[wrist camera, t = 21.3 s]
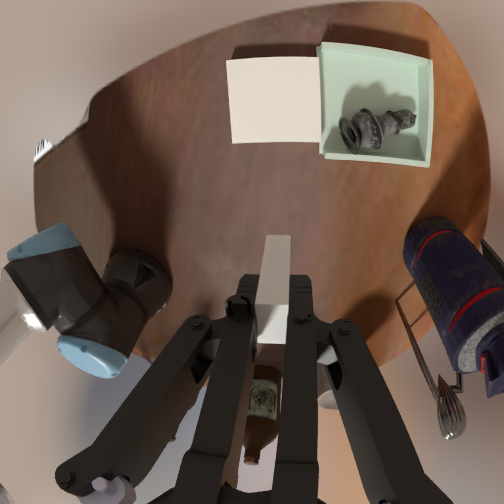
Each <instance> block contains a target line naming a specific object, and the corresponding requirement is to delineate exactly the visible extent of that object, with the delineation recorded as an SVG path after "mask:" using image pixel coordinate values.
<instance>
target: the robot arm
mask: <svg viewBox="0 0 504 504" xmlns="http://www.w3.org/2000/svg"><path fill="white" fill-rule="evenodd" d="M7 257H8V260H9V261H10V262H9V263H8V264H7V265H6V266H5V267H4V268H3V269H2V273H1V281H0V367H1V366H2V365H3V363H4V362H5V361H6V360H7V359H8V358H9V356H10V355H11V354H12V353H13V352H14V351H15V350H16V349H17V348H18V346H19V345H20V344H21V343H22V342H23V341H24V340H25V339H26V338H27V337H28V336H29V335H30V334H31V333H32V332H33V331H41V332H46V331H48V330H49V329H50V327H51V326H52V325H53V326H54V327H55V328H56V329H57V331H58V332H59V333H60V335H61V336H59V337H58V341H57V347H58V349H59V351H60V352H61V354H62V355H64V357H65V358H66V359H67V360H69V361H70V362H71V363H72V364H74V365H75V366H77V367H78V368H81V369H82V370H84V371H86V372H88V373H90V374H92V375H95V376H98V377H102V378H113V377H116V376H117V375H118V374H119V373H120V371H121V370H122V368H123V366H124V365H125V363H127V362H128V358H129V356H130V354H131V352H132V350H133V348H134V346H135V344H136V342H137V340H138V338H139V336H140V334H141V332H142V330H143V328H144V327H145V325H146V323H147V321H148V320H150V319H151V318H152V317H153V316H154V315H155V314H156V313H158V312H159V311H161V310H162V309H163V308H164V307H165V306H166V304H167V302H168V301H169V299H170V297H171V293H172V286H171V282H170V279H169V277H168V275H167V273H166V271H165V270H164V268H163V267H162V266H161V265H160V264H159V263H158V262H157V261H156V260H155V259H153V258H152V257H150V256H149V255H147V254H145V253H143V252H140V251H137V250H132V249H125V250H121V251H119V252H117V253H116V254H114V255H113V257H112V258H111V259H110V260H109V261H108V263H107V264H106V267H105V271H104V274H103V276H102V279H101V278H100V276H99V275H98V273H97V272H96V270H95V268H94V267H93V265H92V263H91V262H90V260H89V258H88V257H87V255H86V253H85V251H84V249H83V248H82V246H81V242H79V241H78V239H77V238H76V236H75V234H74V233H73V231H72V229H71V228H70V226H69V225H67V224H66V223H57V224H55V225H53V226H51V227H49V228H47V229H45V230H43V231H41V232H39V233H38V234H36V235H34V236H32V237H30V238H29V239H27V240H25V241H23V242H22V243H20V244H19V245H17V246H15V247H14V248H12V249H11V250H9V251H8V252H7ZM225 308H226V314H227V316H226V317H224V318H221V319H217V320H211V321H210V320H209V318H208V317H206V316H204V315H194V316H191V317H189V318H188V319H187V320H186V321H185V322H184V323H183V324H182V326H181V327H180V328H179V330H178V331H177V332H176V334H175V335H174V336H173V337H172V339H171V340H170V341H169V343H168V344H167V345H166V347H165V348H164V349H163V351H162V352H161V353H160V354H159V356H158V357H157V358H156V360H155V361H154V362H153V364H152V365H151V367H150V368H149V369H148V370H147V372H146V373H145V374H144V376H143V377H142V378H141V380H140V381H139V382H138V384H137V385H136V386H135V388H134V389H133V390H132V392H131V393H130V394H129V396H128V397H127V398H126V399H125V401H124V402H123V404H122V405H121V406H120V408H119V409H118V410H117V412H116V413H115V414H114V416H113V417H112V418H111V420H110V421H109V422H108V424H107V425H106V426H105V428H104V429H103V431H102V432H101V433H100V435H99V436H98V437H97V438H96V440H95V441H94V443H93V444H92V445H91V446H89V447H88V448H86V449H85V450H83V451H81V452H80V453H78V454H77V455H75V456H73V457H72V458H70V459H69V460H67V461H65V462H64V463H62V464H61V465H60V466H59V467H58V468H57V469H56V472H55V479H56V482H57V484H58V486H59V487H60V488H61V489H62V490H64V491H66V492H68V493H70V494H73V495H75V496H77V497H78V499H79V500H80V502H81V503H82V504H133V503H134V501H135V500H136V493H135V490H134V488H135V487H136V486H137V485H139V483H140V482H141V481H142V480H143V479H144V478H145V477H146V476H147V474H148V473H149V472H150V470H151V469H152V467H153V465H154V464H155V462H156V461H157V459H158V458H159V456H160V454H161V453H162V451H163V450H164V448H165V447H166V445H167V444H168V442H169V440H170V439H171V437H172V436H173V434H174V432H175V431H176V429H177V427H178V426H179V424H180V423H181V421H182V419H183V417H184V416H185V414H186V413H187V411H188V410H189V408H190V406H191V405H192V403H193V401H194V400H195V398H196V396H197V395H198V393H199V391H200V390H201V388H202V386H203V385H204V383H205V381H206V380H207V378H208V376H209V375H210V373H211V375H210V378H209V382H208V386H207V390H206V393H205V397H204V401H203V404H202V408H201V412H200V416H199V419H198V423H197V427H196V431H195V434H194V438H193V442H192V445H191V448H190V449H189V450H188V451H186V453H185V454H184V456H183V459H182V463H181V466H180V470H179V473H178V477H177V481H176V485H175V487H173V488H171V489H170V490H168V491H166V492H165V493H163V494H162V495H160V496H159V497H157V498H155V499H154V500H152V501H151V502H149V503H147V504H326V503H325V502H323V501H322V500H320V499H319V498H317V496H318V478H319V465H318V461H317V440H318V377H317V362H319V363H322V364H323V366H324V368H325V371H326V374H327V377H328V380H329V383H330V386H331V389H332V391H333V394H334V397H335V400H336V403H337V406H338V409H339V412H340V415H341V418H342V421H343V424H344V427H345V430H346V433H347V436H348V439H349V442H350V445H351V449H352V451H353V455H354V458H355V461H356V465H357V467H358V471H359V474H360V478H361V481H362V484H363V487H364V490H365V493H366V495H367V498H368V500H369V502H370V504H453V502H452V501H451V500H450V499H449V498H448V497H447V496H446V495H445V494H444V493H443V492H442V491H441V490H440V489H439V487H437V485H436V484H435V483H433V481H432V480H431V479H430V478H429V477H428V476H427V475H426V474H425V473H424V471H423V468H422V466H421V463H420V460H419V458H418V455H417V453H416V451H415V448H414V446H413V443H412V441H411V439H410V436H409V434H408V432H407V429H406V427H405V424H404V422H403V420H402V417H401V415H400V413H399V411H398V409H397V406H396V404H395V402H394V400H393V398H392V395H391V393H390V391H389V389H388V387H387V385H386V383H385V381H384V379H383V376H382V375H381V372H380V370H379V368H378V366H377V364H376V362H375V360H374V358H373V356H372V354H371V352H370V350H369V348H368V346H367V344H366V342H365V340H364V338H363V336H362V334H361V333H360V331H359V329H358V327H357V325H356V324H355V323H354V322H352V321H350V320H347V319H339V320H336V321H334V322H333V323H332V324H330V323H326V322H323V321H321V320H319V319H318V318H317V317H316V316H315V315H314V312H313V298H312V284H311V280H310V278H309V277H308V275H290V235H267V237H266V243H265V249H264V255H263V260H262V266H261V272H260V275H253V274H245V275H244V276H243V277H242V278H241V279H240V281H239V285H238V289H237V292H236V295H233V296H230V297H229V298H228V299H227V300H226V301H225ZM257 340H258V343H273V344H286V345H285V360H284V375H283V388H282V401H281V412H280V423H279V433H278V443H277V453H276V461H275V469H274V476H273V484H272V490H269V491H262V492H254V493H245V492H242V491H239V490H237V489H236V488H237V482H238V466H239V461H240V455H241V448H242V443H243V437H244V431H245V425H246V419H247V413H248V406H249V400H250V394H251V387H252V381H253V374H254V367H255V361H256V354H257V346H256V344H257ZM0 504H15V503H14V501H13V499H12V497H11V496H10V495H9V493H8V492H7V491H6V490H5V488H4V487H3V486H2V485H1V483H0Z"/></svg>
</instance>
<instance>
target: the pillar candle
mask: <svg viewBox="0 0 504 504" xmlns="http://www.w3.org/2000/svg"><path fill="white" fill-rule="evenodd" d="M317 377H318V404H319V405H320V406H321V407H323V408H326V409H338V406H337V403H336V400H335V397H334V394H333V391H332V389H331V386H330V383H329V380H328V377H327V374H326V371H325V368H324V366H323V364H322V363H319V362H317Z"/></svg>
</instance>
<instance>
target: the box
mask: <svg viewBox="0 0 504 504" xmlns="http://www.w3.org/2000/svg"><path fill="white" fill-rule="evenodd" d="M316 55H317V57H319V72H320V95H321V142H319V153H320V154H323V156H324V157H325V159H341V160H359V161H372V162H384V163H394V164H404V165H412V166H420V167H428V168H429V165H430V156H431V145H432V132H433V105H434V89H433V63H432V60H430V59H426V58H422V57H418V56H414V55H410V54H406V53H401V52H397V51H392V50H386V49H381V48H375V47H368V46H361V45H353V44H344V43H332V42H322V43H321V45H320V46H319V47H316ZM363 108H366V109H369V110H370V111H371V112H372V113H373V114H374V115H381V114H385V113H386V111H388V110H391V111H393V112H395V111H399V110H403V109H408V110H410V111H411V112H412V113H413V114H415V115H417V117H416V119H415V125H414V126H413V127H411V128H408V129H404V130H401V131H400V133H399V134H394V133H393V134H390V135H386V136H385V137H383V146H382V147H381V149H379V150H377V149H366V148H363V147H362V146H360V151H359V153H358V154H357V155H354V154H352V153H351V152H350V151H349V150H348V148H347V147H346V145H345V143H344V141H343V139H342V136H341V133H340V130H339V118H340V117H346V118H347V119H348V120H350V121H351V119H352V117H353V116H354V115H355V114H356V113H357V112H360V110H361V109H363Z"/></svg>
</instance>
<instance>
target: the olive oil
mask: <svg viewBox="0 0 504 504" xmlns="http://www.w3.org/2000/svg"><path fill="white" fill-rule="evenodd" d="M280 395H281V374H280V372H279V371H277V370H276V369H274V368H271V367H268V366H255V367H254V374H253V381H252V387H251V394H250V400H249V406H248V413H247V419H246V425H245V431H244V437H243V443H242V445H243V446H244V447H245V454H244V458H245V459H244V463H245V464H248V465H258V463H259V462H258V460H259V459H260V451H261V450H262V449H263V448H264V447H265V446H267V445H268V444H270V443H271V442H272V441H273V440H274V439H275V438H276V437H277V435H278V432H279V423H280V397H281V396H280Z"/></svg>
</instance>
